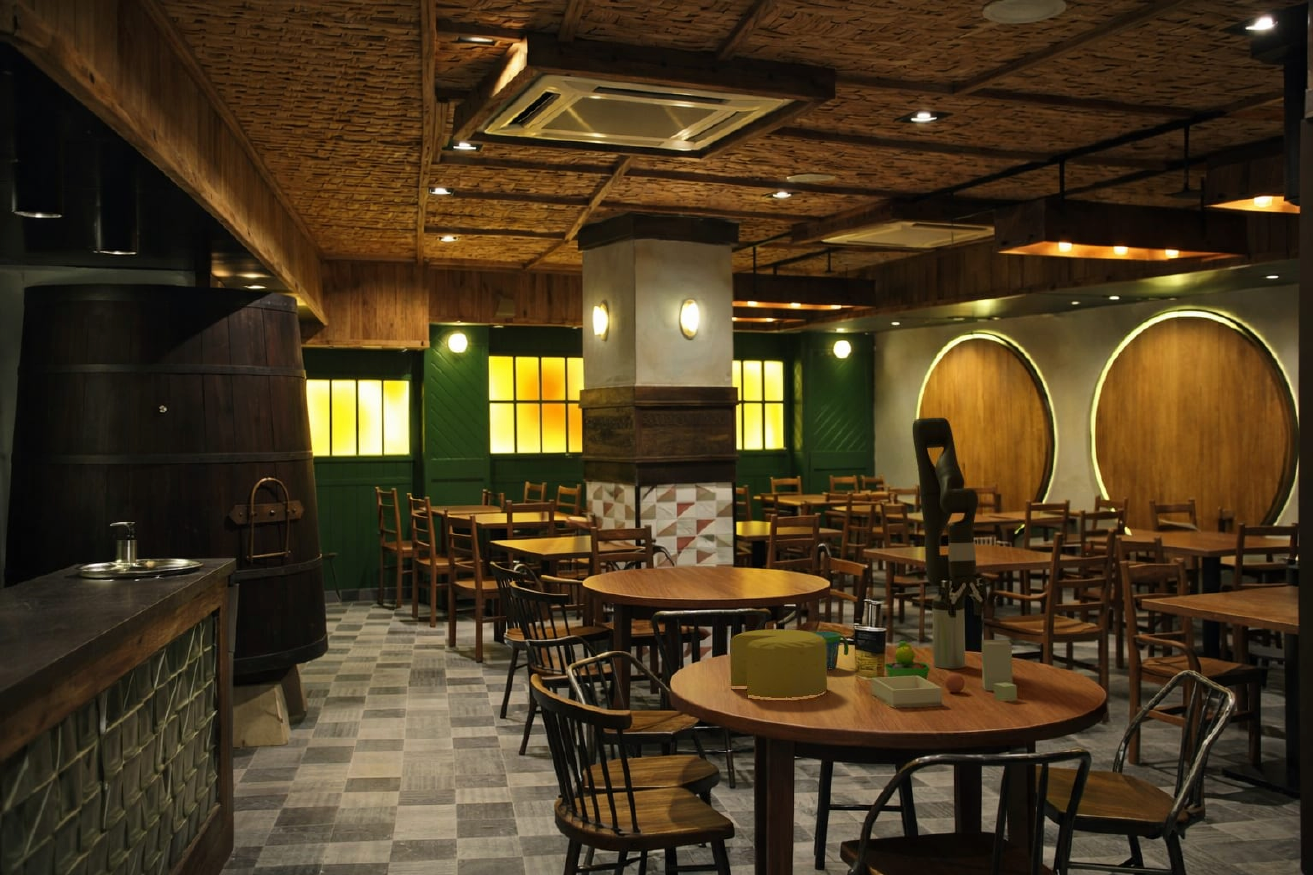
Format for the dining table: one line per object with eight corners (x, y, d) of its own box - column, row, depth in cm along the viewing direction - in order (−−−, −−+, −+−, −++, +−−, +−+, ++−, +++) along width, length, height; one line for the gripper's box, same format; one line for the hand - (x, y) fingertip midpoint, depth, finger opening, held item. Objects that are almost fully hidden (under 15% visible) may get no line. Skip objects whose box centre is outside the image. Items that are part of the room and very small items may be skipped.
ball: (942, 690, 304) (941, 672, 305) (959, 689, 305) (959, 671, 305) (949, 694, 300) (949, 675, 300) (967, 693, 300) (967, 674, 300)
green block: (994, 699, 294) (993, 683, 294) (1006, 697, 296) (1005, 682, 296) (1004, 702, 290) (1004, 686, 290) (1016, 700, 292) (1016, 685, 292)
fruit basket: (888, 686, 311) (888, 645, 311) (883, 680, 320) (883, 640, 320) (930, 686, 310) (930, 645, 310) (924, 679, 319) (923, 639, 319)
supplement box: (1013, 691, 302) (1012, 644, 302) (984, 690, 303) (983, 643, 304) (1010, 685, 309) (1009, 639, 309) (982, 685, 311) (981, 639, 311)
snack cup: (803, 672, 332) (802, 637, 332) (793, 666, 342) (792, 632, 342) (854, 670, 334) (853, 635, 334) (843, 663, 345) (842, 630, 345)
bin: (871, 694, 301) (871, 677, 301) (918, 692, 303) (917, 675, 303) (893, 708, 285) (892, 690, 285) (942, 705, 287) (941, 687, 287)
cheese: (715, 696, 303) (714, 640, 303) (753, 677, 326) (752, 625, 326) (807, 705, 291) (806, 646, 291) (840, 685, 314) (839, 631, 314)
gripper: (974, 557, 328) (977, 613, 326) (933, 559, 322) (936, 617, 321) (991, 557, 321) (994, 615, 320) (949, 560, 315) (952, 619, 314)
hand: (965, 616), depth 320 cm, fingers open, 8 cm apart
